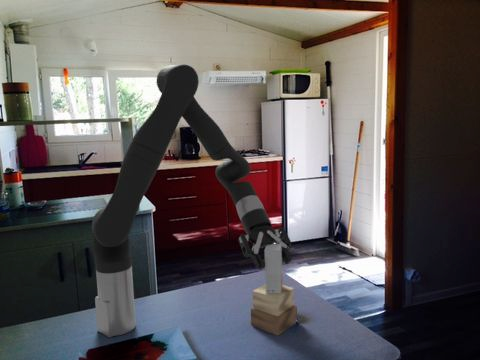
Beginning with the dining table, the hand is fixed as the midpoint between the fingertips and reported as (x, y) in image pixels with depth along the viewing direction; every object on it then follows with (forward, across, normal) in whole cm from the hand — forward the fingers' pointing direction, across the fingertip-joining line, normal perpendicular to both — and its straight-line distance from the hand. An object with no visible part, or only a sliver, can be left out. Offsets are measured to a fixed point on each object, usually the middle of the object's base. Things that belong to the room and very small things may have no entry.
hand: (275, 265), depth 109 cm
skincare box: (+4, +1, +6) cm, 8 cm away
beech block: (+7, 0, +10) cm, 13 cm away
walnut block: (+11, 0, +13) cm, 17 cm away
